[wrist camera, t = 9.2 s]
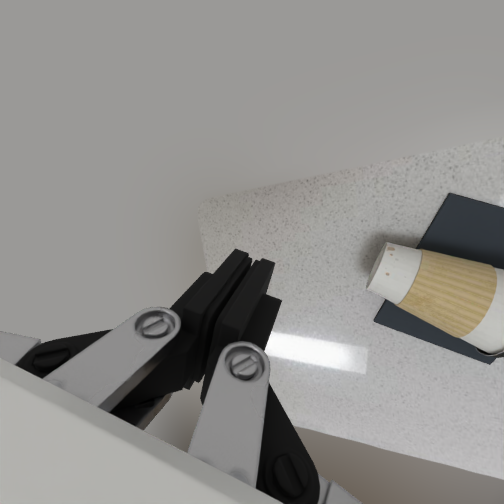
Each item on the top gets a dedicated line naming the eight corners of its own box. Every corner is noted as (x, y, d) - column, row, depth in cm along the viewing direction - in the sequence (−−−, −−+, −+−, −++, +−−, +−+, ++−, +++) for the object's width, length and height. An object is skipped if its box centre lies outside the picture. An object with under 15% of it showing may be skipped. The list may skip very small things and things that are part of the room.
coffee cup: (361, 287, 39) (480, 336, 34) (358, 315, 30) (516, 385, 25) (391, 223, 36) (525, 267, 31) (396, 233, 27) (585, 295, 22)
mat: (449, 192, 31) (450, 193, 30) (612, 237, 28) (615, 239, 28) (373, 320, 40) (373, 321, 40) (488, 362, 38) (489, 364, 37)
